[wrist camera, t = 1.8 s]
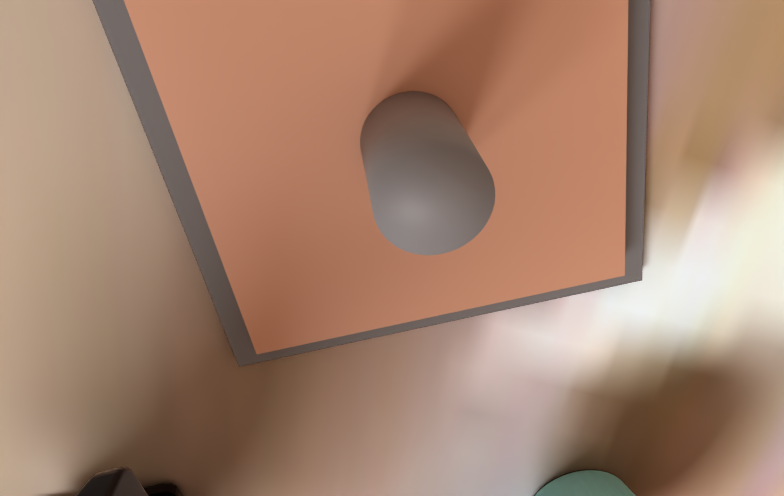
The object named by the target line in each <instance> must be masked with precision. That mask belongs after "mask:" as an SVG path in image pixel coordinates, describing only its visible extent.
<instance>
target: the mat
mask: <svg viewBox="0 0 784 496" xmlns="http://www.w3.org/2000/svg"><path fill="white" fill-rule="evenodd" d="M93 3H94V5H95V8H96V10H97V13H98V15H99V18H100V20H101V23H102V25H103V28H104V30H105V33H106V35H107V38H108V40H109V43H110V45H111V48H112V50H113V53H114V55H115V58H116V60H117V63H118V65H119V68H120V70H121V73H122V75H123V78H124V80H125V83H126V86H127V88H128V91H129V93H130V96H131V98H132V101H133V103H134V106H135V108H136V111H137V113H138V116H139V118H140V121H141V123H142V126H143V128H144V131H145V133H146V136H147V138H148V141H149V143H150V146H151V148H152V151H153V153H154V156H155V158H156V161H157V163H158V166H159V168H160V171H161V173H162V176H163V178H164V181H165V183H166V186H167V188H168V191H169V193H170V196H171V198H172V201H173V203H174V206H175V208H176V211H177V213H178V216H179V218H180V221H181V223H182V226H183V228H184V231H185V233H186V236H187V238H188V241H189V243H190V246H191V248H192V251H193V253H194V256H195V258H196V261H197V263H198V266H199V268H200V271H201V273H202V276H203V278H204V281H205V283H206V286H207V288H208V291H209V293H210V296H211V298H212V301H213V303H214V306H215V308H216V311H217V313H218V316H219V318H220V321H221V323H222V326H223V328H224V331H225V333H226V336H227V338H228V341H229V343H230V346H231V348H232V351H233V353H234V356H235V358H236V361H237V363H238V366H239V367H240V366H245V365H249V364H254V363H259V362H263V361H268V360H273V359H277V358H282V357H287V356H291V355H296V354H301V353H305V352H310V351H315V350H319V349H324V348H329V347H333V346H338V345H343V344H347V343H352V342H357V341H361V340H366V339H371V338H375V337H380V336H385V335H389V334H394V333H399V332H403V331H408V330H413V329H417V328H422V327H427V326H431V325H436V324H441V323H445V322H450V321H455V320H459V319H464V318H469V317H473V316H478V315H482V314H487V313H492V312H496V311H501V310H506V309H510V308H515V307H520V306H524V305H529V304H534V303H538V302H543V301H548V300H552V299H557V298H562V297H566V296H571V295H576V294H580V293H585V292H590V291H594V290H599V289H604V288H608V287H613V286H618V285H622V284H627V283H632V282H636V281H641V280H642V265H643V232H644V198H645V165H646V131H647V98H648V65H649V31H650V0H628V68H627V145H626V222H625V276H620V277H616V278H611V279H606V280H602V281H597V282H592V283H588V284H583V285H578V286H574V287H569V288H564V289H560V290H555V291H550V292H546V293H541V294H536V295H532V296H527V297H522V298H518V299H513V300H508V301H504V302H499V303H494V304H490V305H485V306H480V307H476V308H471V309H466V310H462V311H457V312H452V313H448V314H443V315H438V316H434V317H429V318H424V319H420V320H415V321H410V322H406V323H401V324H396V325H392V326H387V327H382V328H378V329H373V330H368V331H364V332H359V333H354V334H350V335H345V336H340V337H336V338H331V339H326V340H322V341H317V342H313V343H308V344H303V345H299V346H294V347H289V348H285V349H280V350H275V351H271V352H266V353H261V354H256V351H255V349H254V346H253V343H252V341H251V338H250V335H249V333H248V330H247V327H246V325H245V322H244V319H243V317H242V314H241V311H240V309H239V306H238V303H237V301H236V298H235V295H234V293H233V290H232V287H231V285H230V282H229V279H228V277H227V274H226V271H225V269H224V266H223V263H222V261H221V258H220V255H219V253H218V250H217V247H216V245H215V242H214V239H213V237H212V234H211V231H210V229H209V226H208V223H207V221H206V218H205V215H204V213H203V210H202V207H201V205H200V202H199V199H198V197H197V194H196V191H195V189H194V186H193V183H192V181H191V178H190V176H189V173H188V170H187V168H186V165H185V162H184V160H183V157H182V154H181V152H180V149H179V146H178V144H177V141H176V138H175V136H174V133H173V130H172V128H171V125H170V122H169V120H168V117H167V114H166V112H165V109H164V106H163V104H162V101H161V98H160V96H159V93H158V90H157V88H156V85H155V82H154V80H153V77H152V74H151V72H150V69H149V66H148V64H147V61H146V58H145V56H144V53H143V50H142V48H141V45H140V42H139V40H138V37H137V34H136V32H135V29H134V26H133V24H132V21H131V18H130V16H129V13H128V10H127V8H126V5H125V2H124V0H93Z"/></svg>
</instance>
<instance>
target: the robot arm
mask: <svg viewBox="0 0 784 496" xmlns="http://www.w3.org/2000/svg"><path fill="white" fill-rule="evenodd" d="M75 496H183V495H182V493H181V491H180V489H179V488H178V487H177V486H175V485H173V484H161V485H156V486H151V487H147V488H143V487H142V485H141V484H140V482H139V480H138V479H137V477H136V476H135V474H134V473H133V472H132V470H131V469H129V468H127V467H119V468H115V469H111V470H107V471H102V472H99V473H97V474H95V475H93V476H92V477H91V478H90V479H89V480H88V481H87V483H86V484H85V485H84V486H83V487H82V488H81V489H80V491H79V492H78V493H77V494H76V495H75Z"/></svg>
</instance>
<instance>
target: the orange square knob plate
mask: <svg viewBox="0 0 784 496" xmlns="http://www.w3.org/2000/svg"><path fill="white" fill-rule="evenodd" d="M124 2H125V5H126V8H127V10H128V13H129V16H130V18H131V21H132V24H133V26H134V29H135V32H136V34H137V37H138V40H139V42H140V45H141V48H142V50H143V53H144V56H145V58H146V61H147V64H148V66H149V69H150V72H151V74H152V77H153V80H154V82H155V85H156V88H157V90H158V93H159V96H160V98H161V101H162V104H163V106H164V109H165V112H166V114H167V117H168V120H169V122H170V125H171V128H172V130H173V133H174V136H175V138H176V141H177V144H178V146H179V149H180V152H181V154H182V157H183V160H184V162H185V165H186V168H187V170H188V173H189V176H190V178H191V181H192V183H193V186H194V189H195V191H196V194H197V197H198V199H199V202H200V205H201V207H202V210H203V213H204V215H205V218H206V221H207V223H208V226H209V229H210V231H211V234H212V237H213V239H214V242H215V245H216V247H217V250H218V253H219V255H220V258H221V261H222V263H223V266H224V269H225V271H226V274H227V277H228V279H229V282H230V285H231V287H232V290H233V293H234V295H235V298H236V301H237V303H238V306H239V309H240V311H241V314H242V317H243V319H244V322H245V325H246V327H247V330H248V333H249V335H250V338H251V341H252V343H253V346H254V349H255V351H256V354H261V353H266V352H271V351H275V350H280V349H285V348H289V347H294V346H299V345H303V344H308V343H313V342H317V341H322V340H326V339H331V338H336V337H340V336H345V335H350V334H354V333H359V332H364V331H368V330H373V329H378V328H382V327H387V326H392V325H396V324H401V323H406V322H410V321H415V320H420V319H424V318H429V317H434V316H438V315H443V314H448V313H452V312H457V311H462V310H466V309H471V308H476V307H480V306H485V305H490V304H494V303H499V302H504V301H508V300H513V299H518V298H522V297H527V296H532V295H536V294H541V293H546V292H550V291H555V290H560V289H564V288H569V287H574V286H578V285H583V284H588V283H592V282H597V281H602V280H606V279H611V278H616V277H620V276H625V222H626V145H627V68H628V0H124Z"/></svg>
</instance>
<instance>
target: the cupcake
mask: <svg viewBox="0 0 784 496" xmlns="http://www.w3.org/2000/svg"><path fill="white" fill-rule="evenodd" d="M535 496H636V495H635V494H634V493H633V492H632V491H631V490H630V489H629V488H628V487H627V486H626V485H625V484H624V483H623V482H622V481H621V480H620V479H619V478H618V477H616V476H614V475H612V474H610V473H607V472H603V471H597V470H584V471H577V472H573V473H569V474H566V475H563V476H561V477H559V478H557V479H555V480H553V481H551V482H550V483H548V484H547V485H545V486H544V487H543V488H542V489H541V490H540V491H539V492H538V493H537V494H536V495H535Z"/></svg>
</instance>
